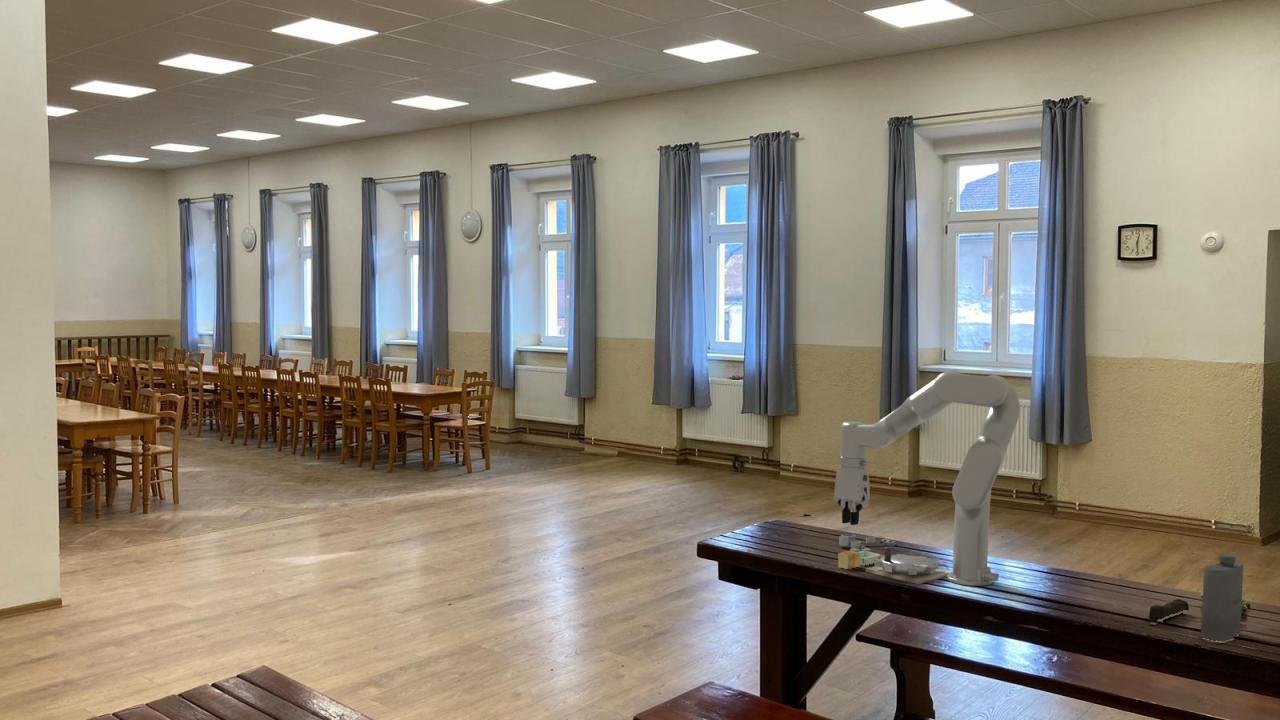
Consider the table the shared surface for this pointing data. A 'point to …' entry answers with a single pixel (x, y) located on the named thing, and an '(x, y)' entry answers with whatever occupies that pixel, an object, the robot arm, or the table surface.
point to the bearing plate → (906, 577)
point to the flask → (1222, 599)
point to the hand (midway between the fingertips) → (850, 523)
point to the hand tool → (1167, 609)
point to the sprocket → (905, 563)
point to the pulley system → (861, 543)
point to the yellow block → (848, 559)
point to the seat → (868, 557)
